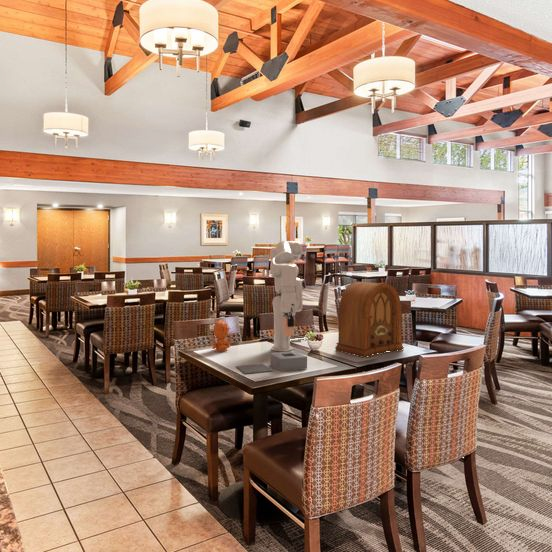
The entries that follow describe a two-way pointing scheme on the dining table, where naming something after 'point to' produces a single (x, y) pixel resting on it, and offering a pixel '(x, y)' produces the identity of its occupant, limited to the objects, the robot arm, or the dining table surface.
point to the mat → (254, 368)
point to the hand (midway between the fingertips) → (288, 325)
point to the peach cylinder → (287, 330)
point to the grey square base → (288, 360)
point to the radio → (369, 319)
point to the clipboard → (290, 338)
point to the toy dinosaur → (221, 336)
